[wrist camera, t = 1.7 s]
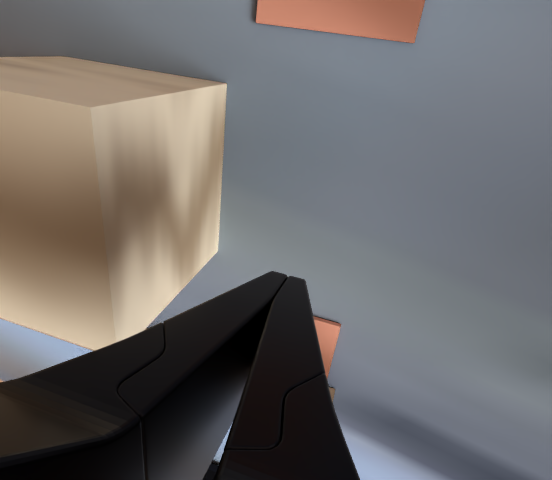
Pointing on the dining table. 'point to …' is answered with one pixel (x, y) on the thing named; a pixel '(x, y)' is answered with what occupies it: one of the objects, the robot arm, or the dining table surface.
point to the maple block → (104, 193)
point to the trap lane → (351, 21)
